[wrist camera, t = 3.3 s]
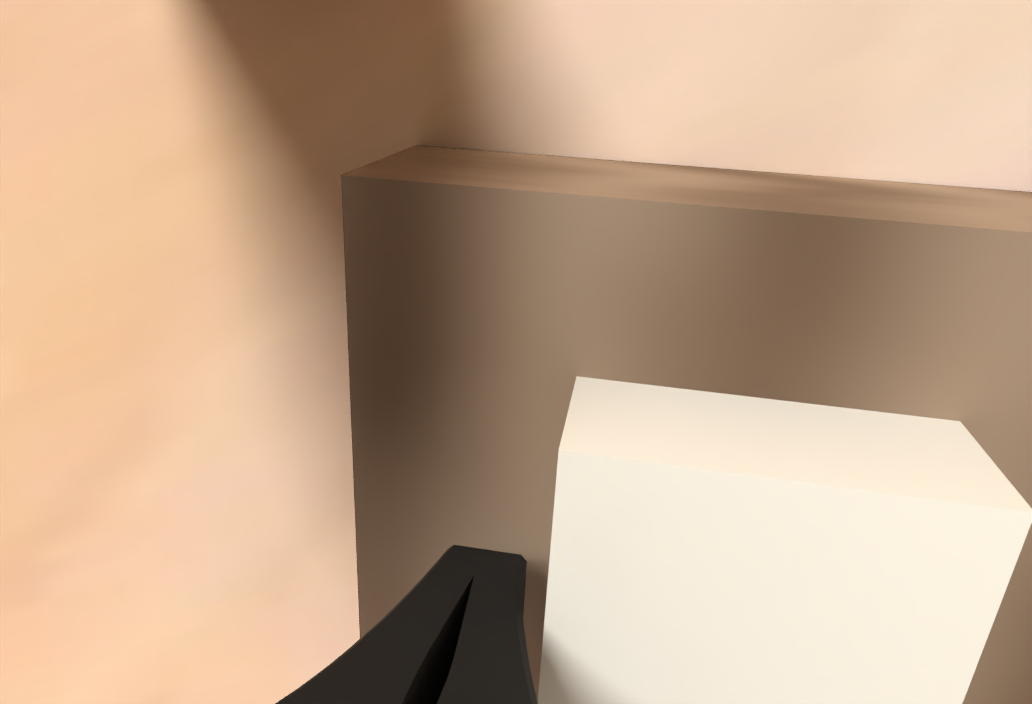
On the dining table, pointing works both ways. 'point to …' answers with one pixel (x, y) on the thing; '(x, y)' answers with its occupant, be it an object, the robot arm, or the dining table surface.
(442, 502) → the brown flat block
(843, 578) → the tile
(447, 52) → the dining table surface
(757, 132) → the dining table surface
